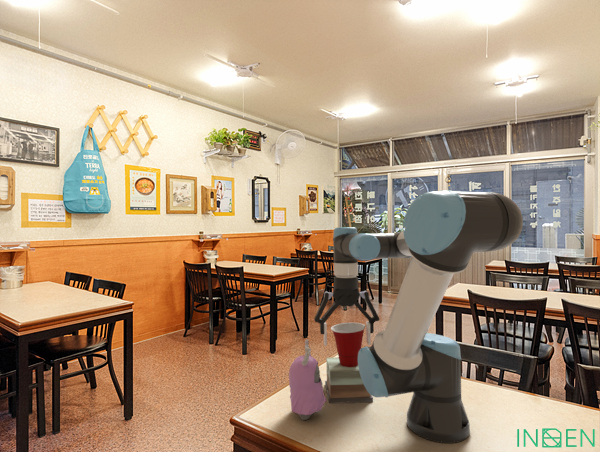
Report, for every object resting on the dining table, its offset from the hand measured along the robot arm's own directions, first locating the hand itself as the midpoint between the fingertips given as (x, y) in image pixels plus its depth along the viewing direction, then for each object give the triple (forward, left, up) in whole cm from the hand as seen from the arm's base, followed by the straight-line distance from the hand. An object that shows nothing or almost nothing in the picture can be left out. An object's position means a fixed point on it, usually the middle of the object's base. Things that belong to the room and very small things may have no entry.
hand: (347, 344), depth 116 cm
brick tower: (0, 0, -15) cm, 15 cm away
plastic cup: (0, 0, -6) cm, 6 cm away
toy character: (-13, +13, -15) cm, 24 cm away
